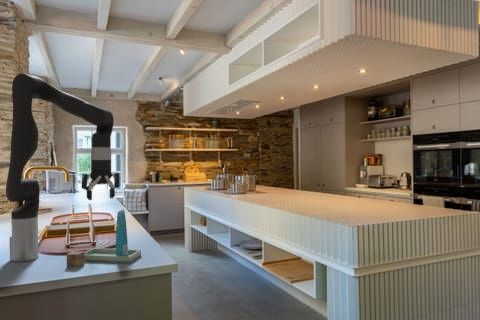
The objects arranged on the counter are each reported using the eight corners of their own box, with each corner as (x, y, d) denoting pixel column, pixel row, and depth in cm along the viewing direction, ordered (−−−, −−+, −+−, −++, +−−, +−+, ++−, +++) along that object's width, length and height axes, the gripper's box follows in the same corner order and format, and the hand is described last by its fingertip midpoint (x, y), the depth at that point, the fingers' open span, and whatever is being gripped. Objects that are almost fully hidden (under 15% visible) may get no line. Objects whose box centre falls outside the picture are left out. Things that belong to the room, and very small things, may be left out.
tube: (118, 254, 144) (117, 209, 143) (130, 254, 144) (129, 208, 144) (113, 259, 136) (112, 212, 136) (125, 259, 137) (125, 211, 136)
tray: (78, 261, 138) (78, 254, 138) (92, 253, 147) (92, 248, 147) (130, 263, 134) (130, 257, 134) (141, 255, 144) (141, 249, 144)
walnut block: (66, 267, 130) (66, 254, 130) (74, 263, 135) (73, 250, 135) (77, 267, 130) (77, 254, 130) (84, 263, 134) (84, 251, 134)
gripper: (86, 159, 128) (85, 201, 129) (122, 158, 138) (122, 198, 139) (79, 158, 134) (79, 199, 134) (114, 158, 144) (114, 196, 144)
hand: (101, 199), depth 136 cm, fingers open, 8 cm apart
